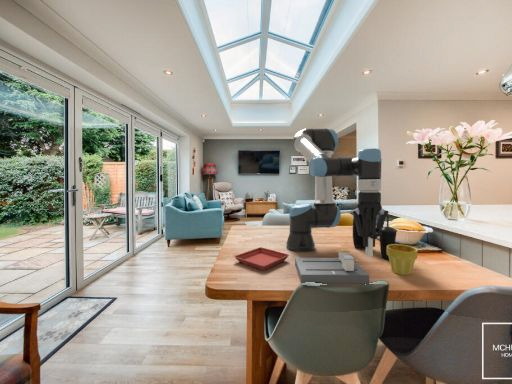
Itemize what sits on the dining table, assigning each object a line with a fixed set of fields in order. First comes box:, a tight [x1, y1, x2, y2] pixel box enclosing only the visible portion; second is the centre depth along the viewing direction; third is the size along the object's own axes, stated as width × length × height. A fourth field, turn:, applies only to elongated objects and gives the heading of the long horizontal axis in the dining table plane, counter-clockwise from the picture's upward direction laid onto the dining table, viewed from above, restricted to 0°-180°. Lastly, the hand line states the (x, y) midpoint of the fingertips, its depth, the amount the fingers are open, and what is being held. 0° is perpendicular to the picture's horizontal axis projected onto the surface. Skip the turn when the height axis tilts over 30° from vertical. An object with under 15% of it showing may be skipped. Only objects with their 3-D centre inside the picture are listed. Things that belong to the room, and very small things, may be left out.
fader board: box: [294, 257, 370, 284], centre depth 93 cm, size 24×18×3 cm
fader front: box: [342, 254, 355, 271], centre depth 88 cm, size 3×4×5 cm
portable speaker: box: [352, 212, 370, 250], centre depth 125 cm, size 9×9×20 cm
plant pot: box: [387, 243, 419, 276], centre depth 93 cm, size 10×10×10 cm
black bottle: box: [379, 215, 398, 261], centre depth 108 cm, size 8×8×20 cm
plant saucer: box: [234, 246, 290, 271], centre depth 106 cm, size 18×18×3 cm
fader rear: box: [337, 247, 350, 262], centre depth 96 cm, size 3×4×4 cm
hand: (369, 255), depth 87 cm, fingers closed
